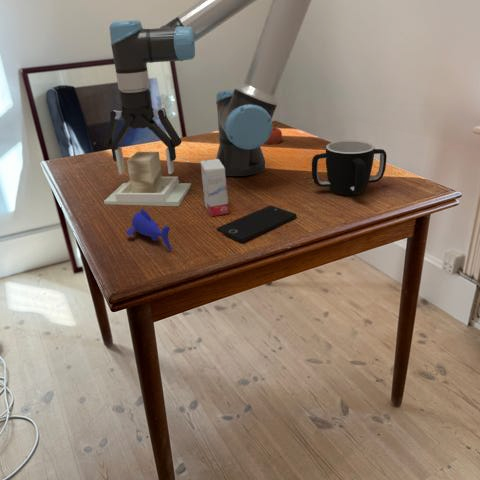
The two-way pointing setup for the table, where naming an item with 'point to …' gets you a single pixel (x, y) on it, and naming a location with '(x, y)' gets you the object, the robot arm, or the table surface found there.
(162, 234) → the fish toy
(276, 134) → the apple
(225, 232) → the cell phone
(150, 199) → the chassis bay
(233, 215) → the table surface
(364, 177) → the mug
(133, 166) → the tan wooden block
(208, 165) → the ink box
